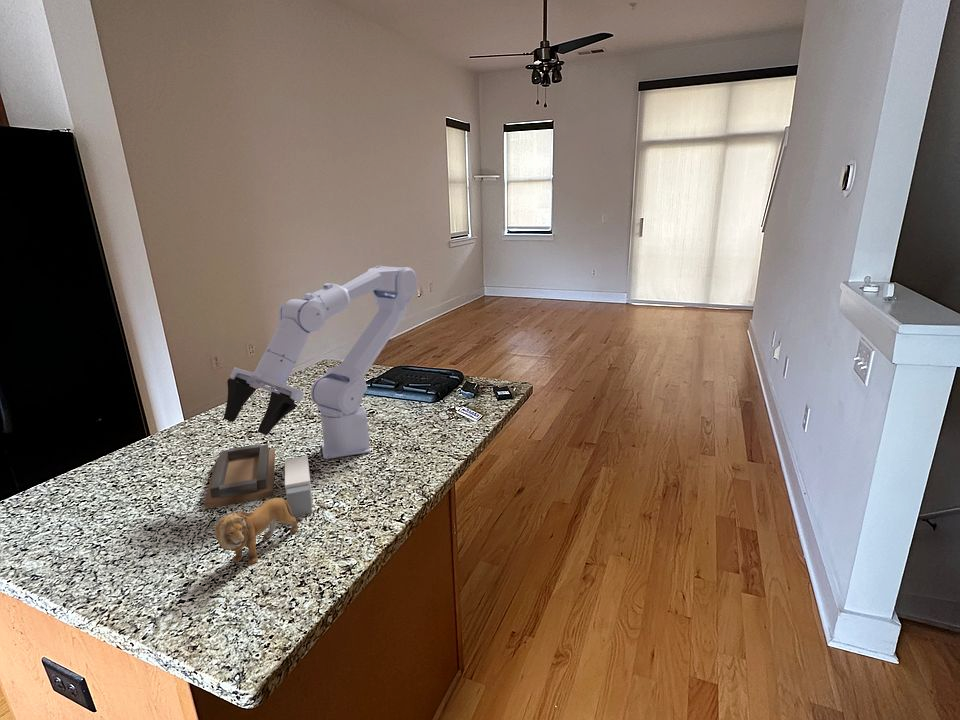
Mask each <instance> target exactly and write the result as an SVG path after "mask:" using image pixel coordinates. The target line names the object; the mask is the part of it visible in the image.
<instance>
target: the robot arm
mask: <svg viewBox="0 0 960 720" xmlns="http://www.w3.org/2000/svg"><path fill="white" fill-rule="evenodd" d="M417 292H418V278H417V274H416V272H415V271H414V269H413V268H411V267H409V266H407V267H405V266H404V267H400V266H399V267H397V266H384V265H376V266H374V267H372V268H371V267H370V268H368V269H367V271H365V272H364V273H362V274H361V275H360V274H359V276H357V277H355V278H353V279H352V280H350V281H348V282H346V283H345V284H343V285H340V284H337V283H332V282H331V283H329V282H326V283H324V284H323V285H322V288H321V289H318V290H316V291H314V292H307V293H305V294H303V297H302V298H301V299H299V298H298V299H297V298H292V299H289V300H287V301H286V302H285V303H284V304H283V305H280V307H279V308H278V318H279V319H278V323H277V325H276V330H275V332H274V333H273V335H272V338H271V339H270V341H269V343H268V345H267V347H266V349H265V351H264V352H263V354H262V356H261V358H260V360H259V363H258V364H257V366H256V368H255V369H254V371H249V370H245V369H241V368H238V367H235V366H234V368H233V369H232V371H231V373H230V374H229V378H228V379H227V381H226V385H227V399H226V404H225V410H224V415H223V417H222V418H223V419H224V420H225V421H228V422H231V423H234V422H235V420H236V419H237V418H238V416H239V414H240V412H241V411H242V409H243V407H244V406H245V403H246V402H247V401H248V400H249V398H250V397H252V395H253V394H254V393H255V392H256V391H257V388H259V389H262V390H264V391H268V392H270V396H269V401H268V405H267V408H266V411H265V413H264V415H263V417H262V419H261V422H260V424H259V426H258V430H257V432H258V433H259V434H262V435H264V436H268V435H269V434H270V433H271V432H272V430H273V429H274V428H275V426H276V425H277V424H278V423H279V422H280V421H281V420H282V419H283V418H284V417H285V416H287V414H289V413H290V412H292V411H294V410H295V409H296V408H297V403H295V402H298V403H301V401H302V399H303V397H304V395H305V392H304V391H302V390H301V389H298V388H296V387H294V386H291V385H289V384H287V382H288V380H289V378H290V376H291V374H292V372H293V371H294V367H295V366H296V363H297V362H298V360H299V358H300V355H301V353H302V352H303V350H304V347H305V345H306V344H307V342H308V340H309V338H310V336H311V334H312V332H316V331H320V330H321V329H322V327H323V326H324V324H325V321H327V320H328V319H331V318H332V317H335V316H336V315H338V314H341V313H342V312H344V311H346V310H347V309H348V308H349V305H350V302H351V301H353V300H355V299H357V298H359V297H362V296H364V295H367V294H369V293H372V296H373V298H374V302H375V305H376V306H377V307H378V311H377V312H376V313H375V316H373V318H372V320H371V321H370V322H369V324H368V325H367V326H366V328H365V329H364V331H363V332H362V334H361V335H360V336H359V338H357V341H356V342H355V343H354V345H353V346H352V348H351V349H350V350H349V352H348V353H347V355H346V356H345V358H344V359H343V360H342V362H341V363H340V364H338V365H335V366H333V367H331V368H329V369H327V370H326V372H325V373H324V374H323V375H322V376H320V377H318V378H317V379H316V380H315V381H314V382H313V384H312V385H311V388H310V398H311V400H312V402H313V403H314V404H315V405H317V408H318V411H320V420H321V431H322V432H321V433H322V438H323V442H321V450H322V456H323V459H324V460H331V459H336V458H343V457H348V456H354V455H360V454H367V453H369V452H371V448H370V432H369V424H368V423H369V421H368V417H367V411H366V408H365V406H361V404H362V401H363V398H364V395H365V393H366V391H367V389H368V386H367V383H366V381H365V378H364V377H365V376H366V374H367V373H368V371H369V370H370V369H371V367H372V365H373V364H374V363H375V361H376V359H377V358H378V356H379V355H380V354H381V352H382V351H383V349H384V348H385V346H386V345H387V343H388V342H389V340H390V339H391V337H392V336H393V334H394V333H395V331H396V330H397V328H398V327H399V326H400V324H401V322H402V321H403V319H404V318H405V316H406V313H407V311H408V306H409V305H410V303H411V301H412V300H413V298H414V297H415V295H416V294H417ZM262 384H263V385H262ZM250 385H251V386H250ZM253 386H254V387H253ZM255 387H256V388H255Z"/></svg>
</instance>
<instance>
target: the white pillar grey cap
mask: <svg viewBox="0 0 960 720" xmlns="http://www.w3.org/2000/svg"><path fill="white" fill-rule="evenodd" d="M308 458H309V457H308V455H304V456H298V457H292V458H285V459H284V488H285V495H286V501H287V503H288V504H289V506H290V509H291V512H292V517H298V516H304V515H310V514H312V513H313V507H314V504H313V493H312V484H311V483H312V482H311V474H310V465H309V459H308Z"/></svg>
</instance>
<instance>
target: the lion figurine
mask: <svg viewBox="0 0 960 720" xmlns="http://www.w3.org/2000/svg"><path fill="white" fill-rule="evenodd" d="M277 521H278V522H280V523H282V524H286V525H287V524H288V525H292V526H291V527H290V529H289V534H290V533H291V534H296V533H298V530H299V527H298V522H297V519H296V516H294V517H292V512H291V509H290V506H289V504H288V503H287V499H284V498H282V497H275V498H271V499H270V498H269V499H267V500H266V501H264V502H263V503H262V504H261V505H260V506H258V507H257V508H256V509H254V510H252V511H251V512H245V511H239V512H234V511H233V512H230V513H226V514H224V515H223V516H222V517H220V518H219V519H218V520H217V523H216V524H215V525H214V529H215V530H214V536H215V538H216V540H217V542H218V544H219V546H220V547H221V549H223V550H230V551H232V552H234V553H235V555H233V557H232V561H233V562H234V563H238V562H240V561H241V560H242V559H243V548H247V549H248V551H249V552H248V557H249V559H248V564H249V565H253V564H254V565H255V564H257V563H258V559H259V558H258V554H257V536H259V535H260V534H262V533H264V534H263V537H264V539H265V538H266V539H268V538H270V537H272V536H273V534H274V531H275V530H276V528H277V525H278V524H277ZM268 527H269V530H268V531H266V529H268ZM264 531H266V532H264ZM237 561H238V562H237Z"/></svg>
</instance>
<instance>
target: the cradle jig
mask: <svg viewBox="0 0 960 720" xmlns="http://www.w3.org/2000/svg"><path fill="white" fill-rule="evenodd" d="M275 469H276V450H275V448H272V449H271V448H270V447H269V443H268V444H267V443H266V444H261V443H258V444H250V445H243V446H236V447H230V448H228V449H227V450H221V451H219V454H218V457H216V459H215V463H214V466H213V470H212V474H211V477H210V480H209V484H208V489H207V492H206V495H205V498H204V502H203V504H204V509H205V510H207V509H211V508H217V507H223V506H229V505H233V504H240V503H244V502H250V501H255V500H256V501H257V500H262V499H266V498H272V497H274V495H275V494H274V491H275V488H274V487H275V472H276V471H275Z"/></svg>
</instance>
